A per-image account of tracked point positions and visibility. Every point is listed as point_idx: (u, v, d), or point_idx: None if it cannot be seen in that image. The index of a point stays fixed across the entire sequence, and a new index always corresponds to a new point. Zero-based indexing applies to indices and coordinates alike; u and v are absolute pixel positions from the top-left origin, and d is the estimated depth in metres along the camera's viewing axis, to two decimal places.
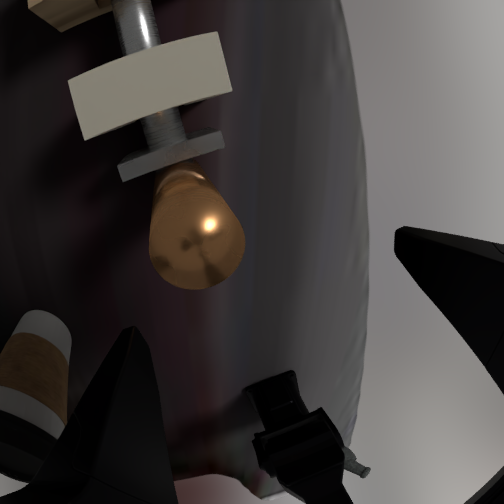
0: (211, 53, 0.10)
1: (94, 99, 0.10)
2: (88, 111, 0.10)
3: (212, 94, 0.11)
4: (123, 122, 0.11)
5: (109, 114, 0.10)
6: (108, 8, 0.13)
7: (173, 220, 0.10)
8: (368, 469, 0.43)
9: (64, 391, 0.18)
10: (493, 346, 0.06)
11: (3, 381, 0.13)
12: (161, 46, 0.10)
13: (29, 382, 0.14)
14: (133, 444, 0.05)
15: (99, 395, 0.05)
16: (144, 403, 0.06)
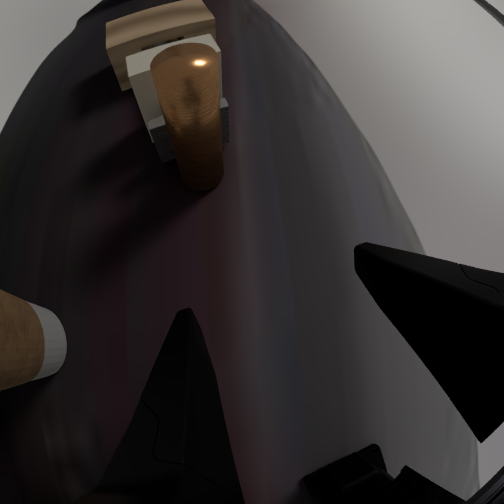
0: (207, 40, 0.18)
1: (139, 61, 0.17)
2: (134, 65, 0.17)
3: None
4: None
5: (146, 65, 0.17)
6: None
7: (170, 50, 0.13)
8: None
9: (18, 347, 0.12)
10: (457, 379, 0.06)
11: None
12: (179, 41, 0.18)
13: None
14: (207, 427, 0.05)
15: (170, 377, 0.05)
16: (208, 385, 0.07)
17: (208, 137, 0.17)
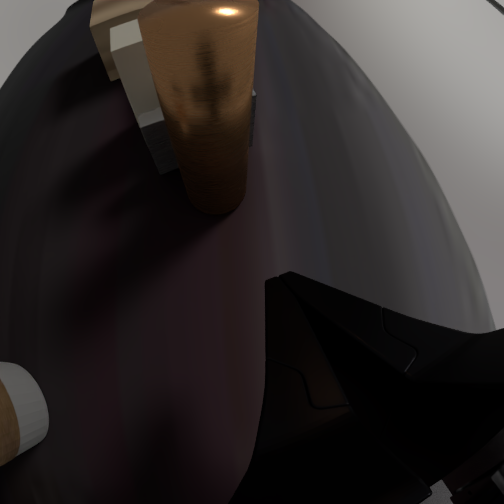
0: None
1: (127, 32, 0.11)
2: (120, 37, 0.11)
3: None
4: None
5: (137, 36, 0.11)
6: None
7: None
8: None
9: None
10: (378, 433, 0.05)
11: None
12: None
13: None
14: None
15: (293, 334, 0.06)
16: None
17: (233, 140, 0.11)
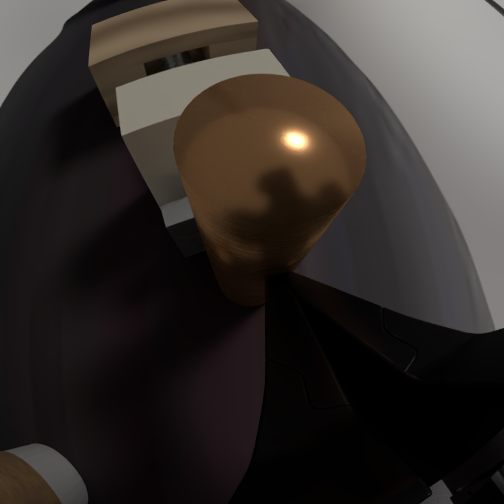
0: (267, 62, 0.10)
1: (140, 99, 0.10)
2: (132, 109, 0.09)
3: None
4: (171, 116, 0.09)
5: (156, 110, 0.09)
6: None
7: (224, 93, 0.05)
8: None
9: None
10: (378, 433, 0.05)
11: None
12: (214, 59, 0.10)
13: None
14: None
15: (293, 334, 0.06)
16: None
17: None
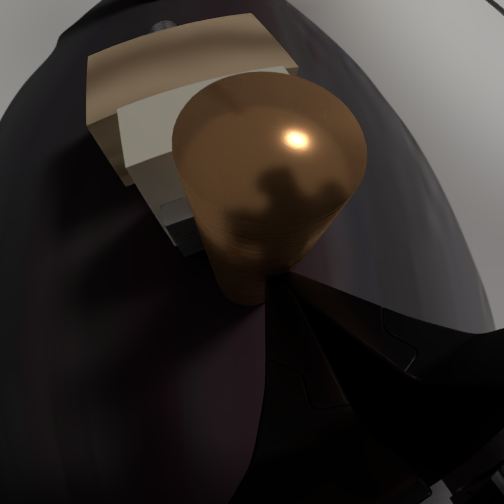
0: None
1: (145, 124, 0.09)
2: (136, 135, 0.09)
3: None
4: None
5: (162, 138, 0.09)
6: None
7: (223, 91, 0.05)
8: None
9: None
10: (379, 433, 0.05)
11: None
12: None
13: None
14: None
15: (293, 334, 0.06)
16: None
17: None
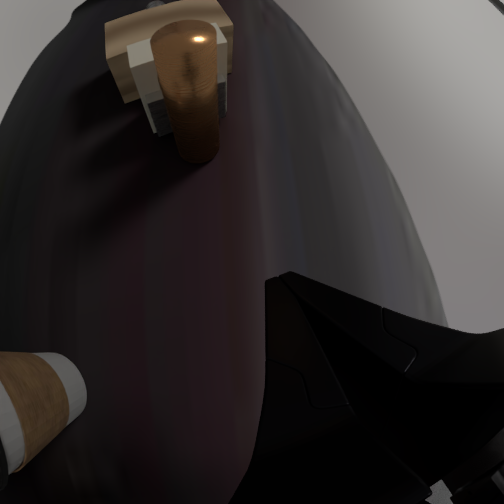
0: None
1: (141, 51, 0.16)
2: (136, 55, 0.16)
3: None
4: None
5: (149, 56, 0.16)
6: None
7: (170, 26, 0.12)
8: None
9: (47, 418, 0.12)
10: (379, 432, 0.05)
11: None
12: None
13: (4, 368, 0.11)
14: None
15: (293, 334, 0.06)
16: None
17: (205, 111, 0.17)
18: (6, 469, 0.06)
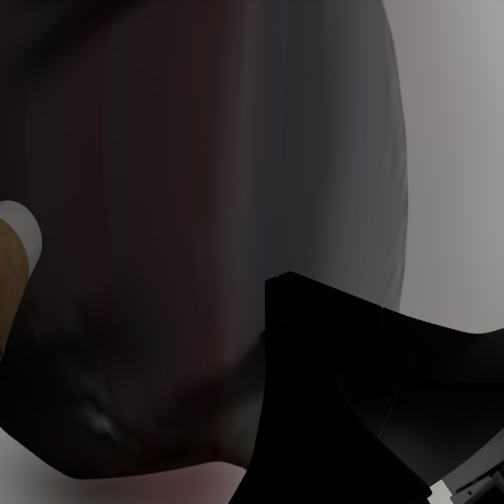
0: None
1: None
2: None
3: None
4: None
5: None
6: None
7: None
8: None
9: (12, 288, 0.12)
10: (378, 433, 0.05)
11: None
12: None
13: None
14: None
15: (293, 334, 0.06)
16: None
17: None
18: None
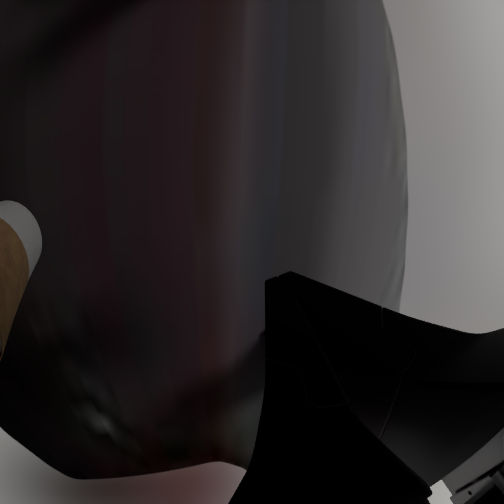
0: None
1: None
2: None
3: None
4: None
5: None
6: None
7: None
8: None
9: (12, 288, 0.12)
10: (378, 433, 0.05)
11: None
12: None
13: None
14: None
15: (293, 334, 0.06)
16: None
17: None
18: None
